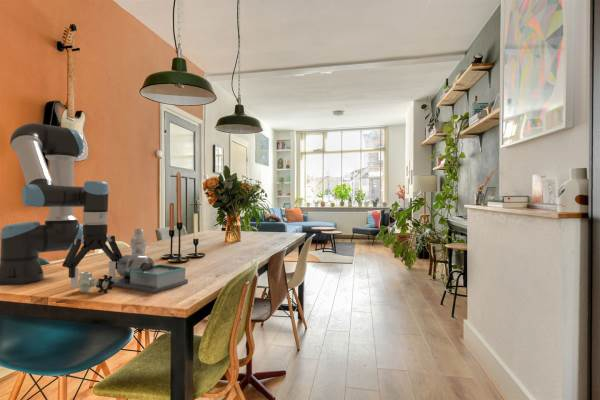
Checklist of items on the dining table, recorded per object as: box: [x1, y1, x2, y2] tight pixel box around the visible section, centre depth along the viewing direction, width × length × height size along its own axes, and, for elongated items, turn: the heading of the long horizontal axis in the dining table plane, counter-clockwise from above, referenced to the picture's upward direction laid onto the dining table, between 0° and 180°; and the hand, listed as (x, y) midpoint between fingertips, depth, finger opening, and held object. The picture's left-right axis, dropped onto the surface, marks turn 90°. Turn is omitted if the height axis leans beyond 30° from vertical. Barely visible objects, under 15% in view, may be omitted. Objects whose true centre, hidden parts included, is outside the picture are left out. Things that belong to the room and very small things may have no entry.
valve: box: [78, 271, 114, 294], centre depth 116 cm, size 7×7×12 cm
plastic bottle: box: [130, 228, 147, 257], centre depth 146 cm, size 6×7×20 cm
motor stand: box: [107, 254, 189, 294], centre depth 128 cm, size 26×17×10 cm, turn 66°
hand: (94, 282), depth 116 cm, fingers open, 13 cm apart
